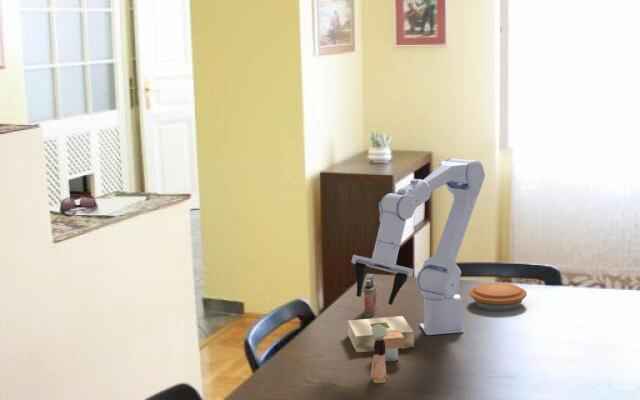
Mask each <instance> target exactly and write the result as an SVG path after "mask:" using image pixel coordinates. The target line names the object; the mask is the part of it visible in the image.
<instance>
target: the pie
mask: <svg viewBox="0 0 640 400" xmlns="http://www.w3.org/2000/svg"><path fill="white" fill-rule="evenodd" d="M527 293H528V292H527V291H526V289H524V288H522V287H520V286H518V285H515V284H513V283H507V282H487V283H482V284H478V285H477V286H475V287H473V288H471V289H470V290H469V291H468V294H469V296H470V297H471V298H472V299H473V300H474V301H475V304H476V305H477V307H479V308H480V309H483V310H487V311H492V312H493V311H495V312H503V311H504V312H505V311H512V310H515V309H517V308H519V306H520V305H521V304H522V302H523V300H524V299H525V298H526V297H527Z"/></svg>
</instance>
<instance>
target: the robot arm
mask: <svg viewBox="0 0 640 400" xmlns="http://www.w3.org/2000/svg"><path fill="white" fill-rule="evenodd" d="M485 177H486V173H485V170H484V167H483V163H482V162H481V161H479V160H476V159H475V160H471V159H470V160H469V159H461V158H460V159H459V158H453V157H448V158H445V159H444V160H442V161H440V162H439V166H438V167H437V168H436V169H435V170H433V171H432V172H431V173H429V174H428V175H427V176H426V177H425V178H424V179H421V178H419V179H418V178H417V179H416V178H413V179H411V180H410V183H408V184H407V185H405V186H404V187H400V188H399V189H397V191H396V192H395V193H393V192H391V193H387V194H386V195H384V196H383V197H382V199H381V201H379V202H378V210H379V222H380V223H379V227H378V231H377V235H376V240H375V244H374V248H373V252H372V257H371V258H369V257H365V256H360V255H356V254H352V258H351V264H354V271H355V278H356V297H360V298H361V296H362V293H363V287H364V284H365V283H364V282H365V280H366V277H367V272H368V269H369V268H372V269H376V270H380V271H384V272H388V273H393V274H394V279H393V285H392V288H391V293H390V296H389V298H388V299H389V300H388V303H387V304H388V305H391V306H392V305H393V304H394V301H395V299H396V296H397V295H398V293H399V292H400V290H401V288H402V287H403V285H405V283H406V282H407V281H408V277H409V278H413V276H414V271H415V270H414V269H415V268H410V267H406V266H401V265H397V260H398V256H399V252H400V251H399V250H400V247H401V244H402V243H401V242H402V239H403V234H404V231H405V226H406V222H407V220H408V219H411V218H412V217H413V215H414V214H415V211H416V210H417V208H418V207H419V206H421V205H423V204H424V203H425V202H427V201H428V200H429V199H430V198H431V195H432V192H434V191H436V190H437V189H439V188H441V187H442V186H444V185H445V186H446V188H447V190H448V191H449V193H451V194H452V195H453V198H454V199H453V202H452V205H451V208H450V211H449V213H448V215H447V216H448V217H447V218H446V222H445V225H444V228H443V230H442V233H441V236H440V239H439V241H438V244H437V248H436V250H435V253H434V255H432V256H431V257H429V258H427V259H426V260H424V261H423V265H422V267H421V268H420V270H418V273H417V274H416V278H415V279H416V286H417V289H418V290H419V292H421V294H420V295H422V296H423V322H422V323H419V327H420V328H421V329H422V330H423V332H424V333H425V335H427V336H433V335H445V334H456V333H457V334H458V333H464V324H463V323H464V321H463V319H464V318H463V315H464V314H463V313H464V312H463V311H464V310H463V309H464V308H463V302H462V298H461V296H460V294H458V291H459V288H460V279H461V275H462V271H461V269H460V267H459V266H458V264H457V262H456V260H457V258H458V255H459V251H460V249H461V245H462V243H463V241H464V239H465V238H464V237H465V235H466V231H467V229H468V226H469V223H470V220H471V217H472V214H473V210H474V209H475V205H476V202H477V199H478V196H479V195H480V192H481V189H482V186H483V183H484V180H485ZM376 265H379V266H376ZM380 266H381V267H380ZM382 266H383V267H382ZM384 267H386V268H384ZM388 268H389V269H388Z"/></svg>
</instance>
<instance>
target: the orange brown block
mask: <svg viewBox="0 0 640 400" xmlns="http://www.w3.org/2000/svg"><path fill="white" fill-rule="evenodd" d="M383 340H384V342H385V347H386V350H387V352H386V353H385V362H386V361H389V362H397V361H396V360H398V361H399V349H398V348H401V349H405V348H404V336H403V335H402V333H401V332H400V330H388V331H387V335H386V336H385V337H384V338H383Z"/></svg>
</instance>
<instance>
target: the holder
mask: <svg viewBox="0 0 640 400" xmlns="http://www.w3.org/2000/svg"><path fill="white" fill-rule="evenodd" d="M376 324H380V325H382V326H383V327H385V329H386V331H388V330H400V332H401V333H402V335H403V336H404V348H403V349H410V348H409V347H413V348H415V337H414V336H415V333H414V332H415V331H414V330H413V329H412V326H410V324H409V323H408V322H407V320H406V319H405V317H404V316H403V315H400V316H399V315H397V316H386V317H385V316H384V317H375V318H374V317H372V318H363V319H362V318H361V319H351V320H349V319H348V320H347V335H348V338H349V339H350V342H351V344H352V346H353V348H354V350H355V352H356V353H363V352H365V353H366V352H374V344H375V340H374V338H373V336H372V334H373V333H372V328H373V326H374V325H376ZM398 350H399V348H398Z"/></svg>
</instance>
